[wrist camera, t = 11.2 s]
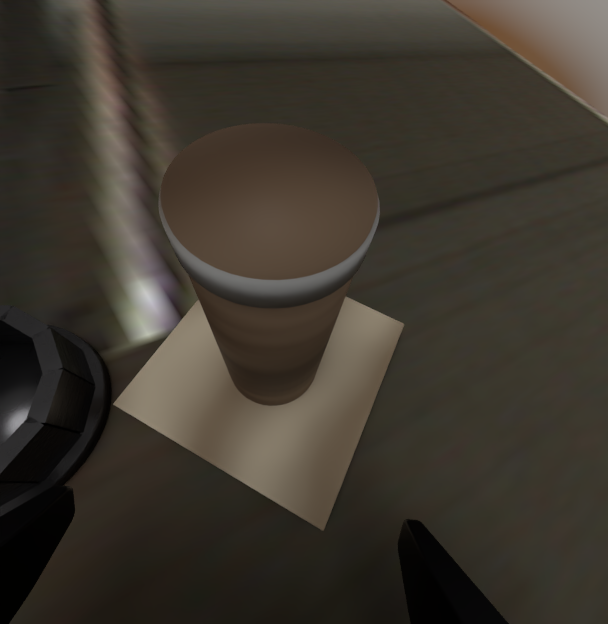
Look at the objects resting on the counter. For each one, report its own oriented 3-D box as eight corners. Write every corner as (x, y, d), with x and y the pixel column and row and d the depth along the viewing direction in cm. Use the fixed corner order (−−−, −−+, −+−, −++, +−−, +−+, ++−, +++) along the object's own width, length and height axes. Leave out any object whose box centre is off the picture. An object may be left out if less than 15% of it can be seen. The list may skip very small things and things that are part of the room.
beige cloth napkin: (396, 334, 21) (404, 324, 20) (319, 527, 15) (323, 531, 14) (242, 260, 23) (240, 247, 22) (125, 410, 17) (112, 404, 16)
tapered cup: (335, 380, 18) (426, 230, 7) (249, 425, 16) (202, 318, 6) (293, 308, 20) (316, 106, 9) (213, 341, 18) (129, 146, 8)
